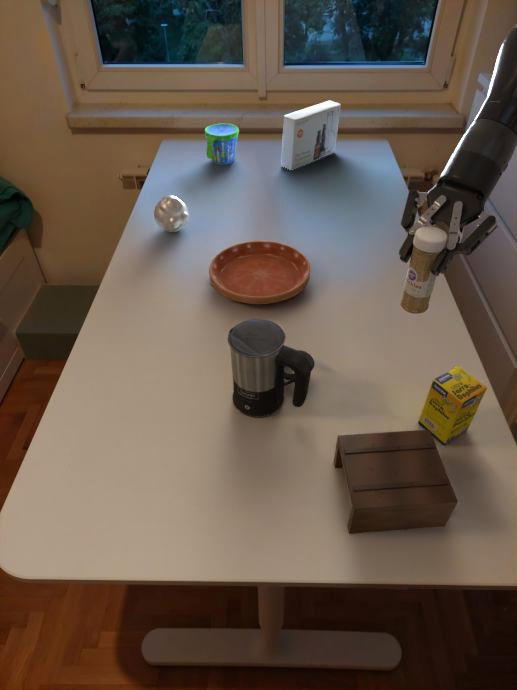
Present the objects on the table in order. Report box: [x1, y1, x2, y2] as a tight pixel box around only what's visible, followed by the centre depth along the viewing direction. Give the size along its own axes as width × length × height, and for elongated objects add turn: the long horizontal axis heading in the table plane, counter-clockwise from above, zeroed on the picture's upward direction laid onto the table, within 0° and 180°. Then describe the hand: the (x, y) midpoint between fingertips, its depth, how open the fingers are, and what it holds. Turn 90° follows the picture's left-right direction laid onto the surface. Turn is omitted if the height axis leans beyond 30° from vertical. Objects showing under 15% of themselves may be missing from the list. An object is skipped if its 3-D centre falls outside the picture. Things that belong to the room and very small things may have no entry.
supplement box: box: [417, 365, 488, 447], centre depth 81 cm, size 6×6×11 cm
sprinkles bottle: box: [399, 226, 449, 315], centre depth 77 cm, size 5×5×14 cm
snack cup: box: [204, 122, 240, 165], centre depth 161 cm, size 16×10×10 cm
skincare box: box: [280, 100, 342, 171], centre depth 159 cm, size 21×5×16 cm, turn 132°
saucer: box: [208, 240, 311, 305], centre depth 115 cm, size 23×23×4 cm
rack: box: [333, 429, 459, 535], centre depth 73 cm, size 14×12×7 cm
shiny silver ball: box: [153, 195, 190, 233], centre depth 129 cm, size 9×9×10 cm
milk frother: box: [227, 318, 315, 418], centre depth 87 cm, size 14×16×15 cm
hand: (418, 267), depth 74 cm, fingers closed on sprinkles bottle, 4 cm apart
